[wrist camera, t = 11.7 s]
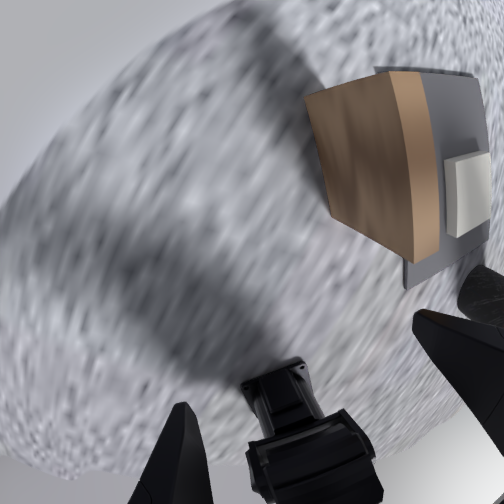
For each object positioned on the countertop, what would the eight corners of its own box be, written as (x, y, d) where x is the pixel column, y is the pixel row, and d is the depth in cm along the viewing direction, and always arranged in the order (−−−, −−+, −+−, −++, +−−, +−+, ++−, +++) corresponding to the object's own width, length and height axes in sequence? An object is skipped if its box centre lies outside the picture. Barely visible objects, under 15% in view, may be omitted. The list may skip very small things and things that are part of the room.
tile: (446, 233, 23) (481, 214, 24) (456, 238, 22) (490, 217, 23) (443, 159, 20) (479, 150, 21) (455, 162, 19) (490, 152, 20)
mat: (485, 238, 26) (488, 239, 26) (404, 288, 25) (407, 290, 24) (474, 78, 18) (478, 78, 18) (377, 73, 17) (381, 72, 16)
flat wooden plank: (353, 209, 20) (439, 250, 12) (331, 217, 20) (413, 264, 12) (328, 92, 17) (419, 71, 9) (303, 96, 17) (388, 71, 8)
